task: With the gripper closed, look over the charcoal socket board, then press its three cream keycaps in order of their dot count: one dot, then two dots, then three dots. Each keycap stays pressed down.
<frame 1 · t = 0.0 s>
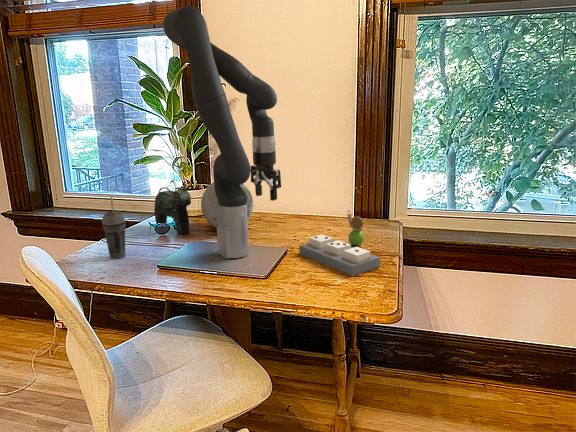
hand: (266, 197, 149), 17 cm above the table, tool pointing down, fingers open, 8 cm apart
tile two dots: (321, 241, 145), point 4 cm above the table, slide at 0.0 cm
socket board: (337, 260, 140), on the table
moon model: (228, 229, 173), on the table
dark animal figurine: (172, 231, 171), on the table
tile one dot: (356, 254, 133), point 4 cm above the table, slide at 0.0 cm
beverage cup: (117, 257, 144), on the table
snail figurine: (354, 245, 154), on the table
tile three dots: (338, 247, 139), point 4 cm above the table, slide at 0.0 cm
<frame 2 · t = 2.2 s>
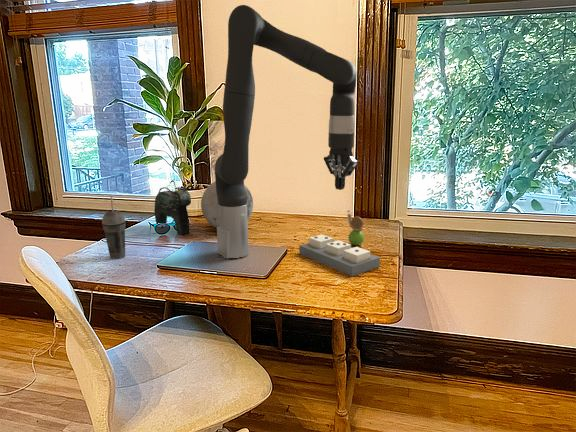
hand: (339, 189, 134), 23 cm above the table, tool pointing down, fingers closed
nothing on the table moved.
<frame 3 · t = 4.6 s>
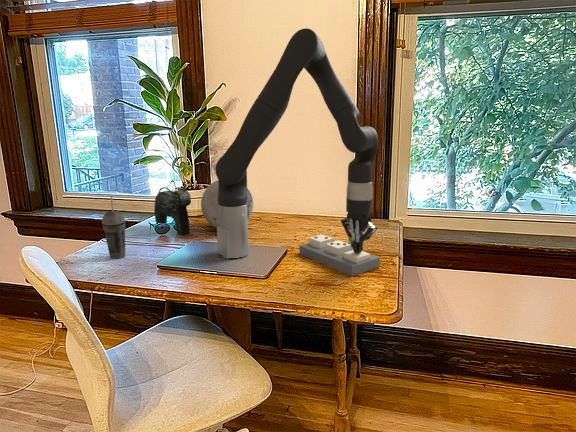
hand: (357, 252, 133), 5 cm above the table, tool pointing down, fingers closed
tile one dot: (356, 256, 133), point 3 cm above the table, slide at 0.8 cm, touching gripper
everything else where it was.
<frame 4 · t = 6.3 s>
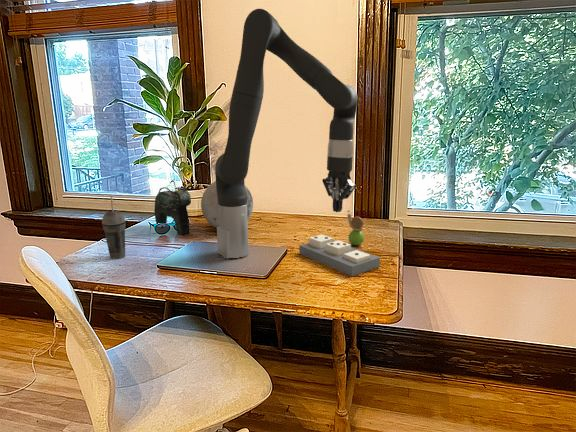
hand: (337, 211, 135), 16 cm above the table, tool pointing down, fingers closed
tile one dot: (356, 257, 133), point 3 cm above the table, slide at 1.1 cm
everything else where it was.
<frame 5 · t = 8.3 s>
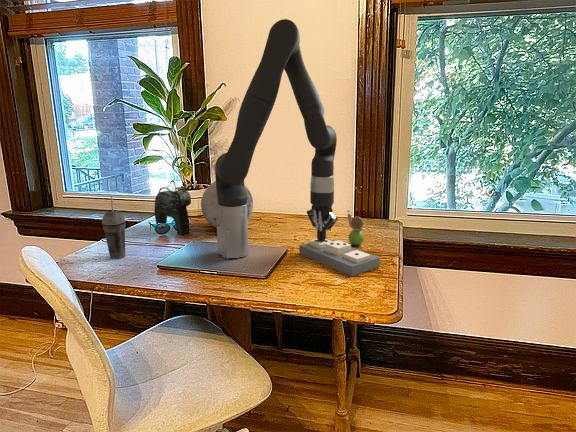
hand: (321, 240, 145), 4 cm above the table, tool pointing down, fingers closed
tile two dots: (321, 244, 145), point 3 cm above the table, slide at 1.1 cm, touching gripper
everything else where it was.
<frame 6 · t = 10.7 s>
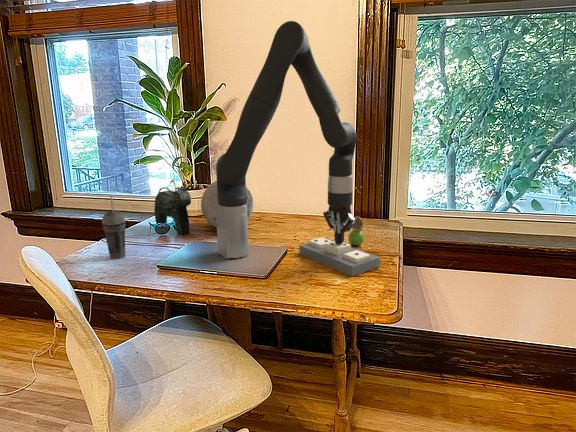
hand: (339, 243, 139), 5 cm above the table, tool pointing down, fingers closed
tile two dots: (321, 244, 145), point 3 cm above the table, slide at 1.1 cm
tile three dots: (338, 247, 139), point 4 cm above the table, slide at 0.1 cm, touching gripper
everything else where it was.
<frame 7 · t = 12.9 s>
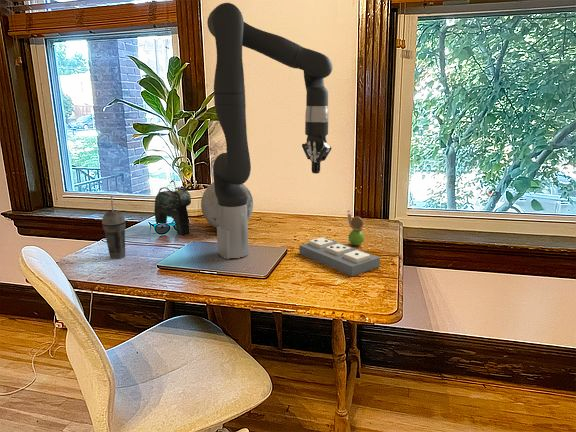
hand: (315, 173, 148), 25 cm above the table, tool pointing down, fingers closed
tile three dots: (338, 250, 139), point 3 cm above the table, slide at 1.1 cm
everything else where it was.
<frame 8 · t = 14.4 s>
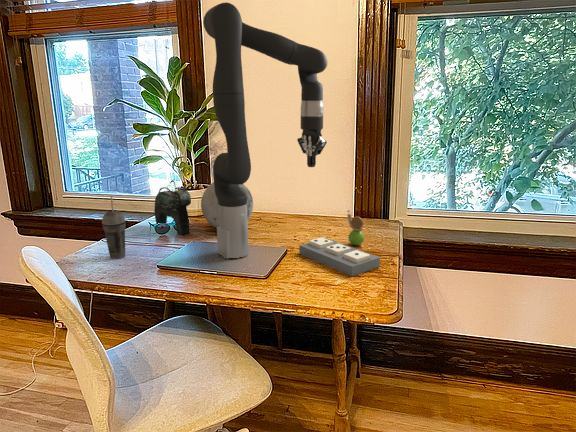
hand: (311, 166, 150), 27 cm above the table, tool pointing down, fingers closed
nothing on the table moved.
at the end: tile one dot slide at 1.1 cm; tile two dots slide at 1.1 cm; tile three dots slide at 1.1 cm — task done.
